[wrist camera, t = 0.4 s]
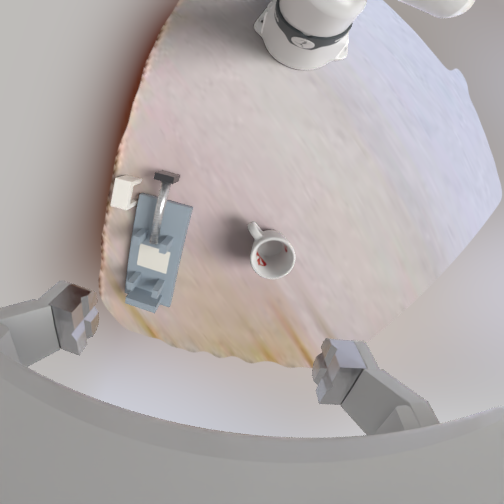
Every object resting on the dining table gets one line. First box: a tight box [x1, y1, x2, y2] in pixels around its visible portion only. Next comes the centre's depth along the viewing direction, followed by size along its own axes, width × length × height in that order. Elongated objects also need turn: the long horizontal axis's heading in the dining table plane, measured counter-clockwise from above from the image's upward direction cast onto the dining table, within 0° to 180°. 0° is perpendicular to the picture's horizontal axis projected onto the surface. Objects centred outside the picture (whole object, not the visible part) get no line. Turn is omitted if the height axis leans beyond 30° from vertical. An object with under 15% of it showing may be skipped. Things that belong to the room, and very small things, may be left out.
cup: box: [248, 221, 295, 279], centre depth 52 cm, size 11×8×8 cm
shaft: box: [149, 170, 180, 245], centre depth 49 cm, size 14×4×4 cm, turn 162°
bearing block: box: [125, 193, 193, 313], centre depth 53 cm, size 23×11×6 cm, turn 162°
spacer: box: [111, 175, 142, 210], centre depth 49 cm, size 4×6×5 cm, turn 162°
